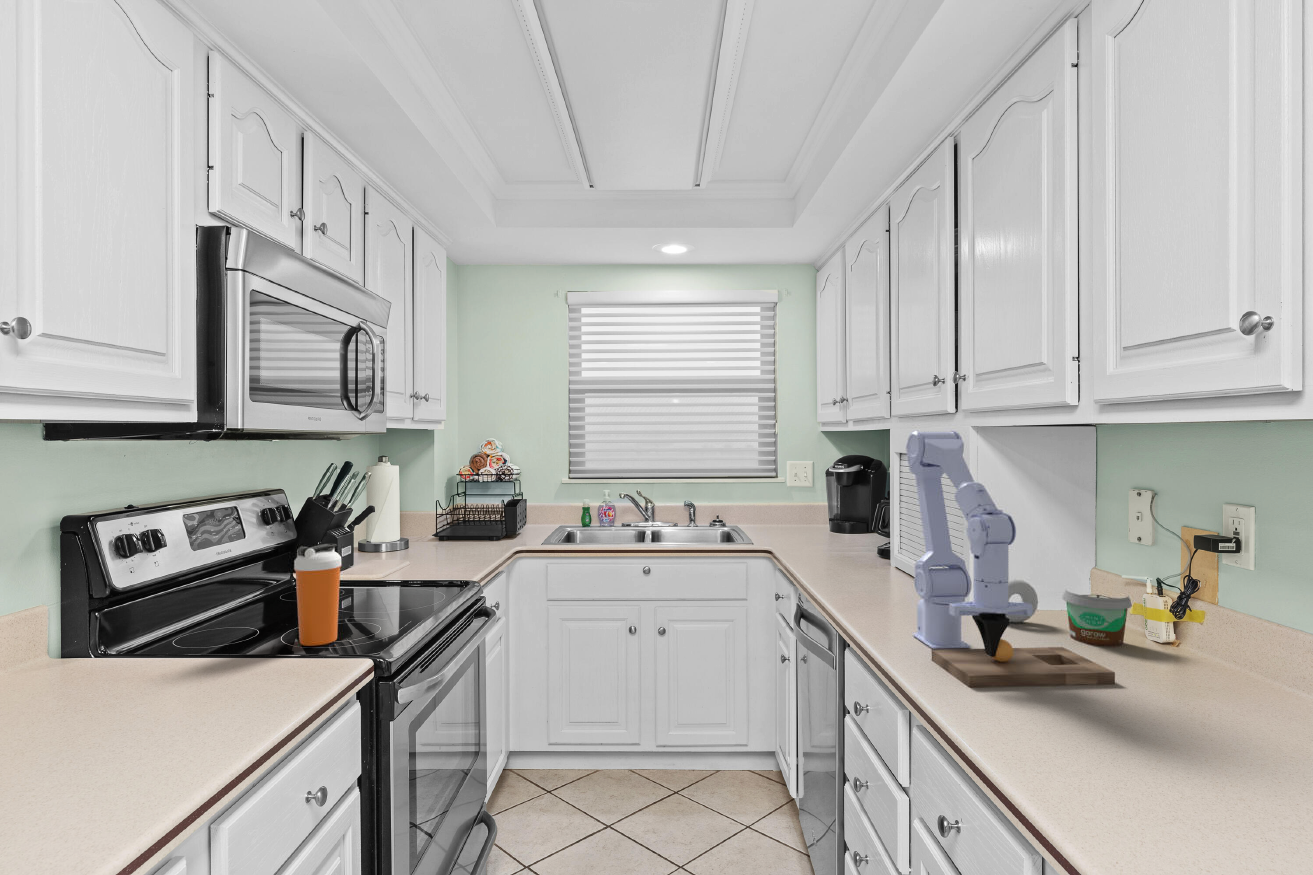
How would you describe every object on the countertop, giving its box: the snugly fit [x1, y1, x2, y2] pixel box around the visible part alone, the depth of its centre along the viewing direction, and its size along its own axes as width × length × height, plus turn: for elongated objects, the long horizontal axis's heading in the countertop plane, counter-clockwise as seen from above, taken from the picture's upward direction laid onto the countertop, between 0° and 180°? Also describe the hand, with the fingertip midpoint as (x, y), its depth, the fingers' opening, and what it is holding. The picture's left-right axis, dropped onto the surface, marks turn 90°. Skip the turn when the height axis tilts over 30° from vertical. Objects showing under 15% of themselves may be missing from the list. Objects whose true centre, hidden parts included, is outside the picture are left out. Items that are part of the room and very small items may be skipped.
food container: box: [1061, 589, 1132, 648], centre depth 141 cm, size 12×6×10 cm, turn 62°
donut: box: [1006, 578, 1039, 624], centre depth 156 cm, size 10×4×10 cm, turn 89°
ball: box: [992, 638, 1014, 662], centre depth 124 cm, size 4×4×4 cm
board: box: [931, 646, 1116, 688], centre depth 125 cm, size 14×26×2 cm, turn 93°
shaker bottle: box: [293, 543, 342, 647], centre depth 144 cm, size 9×9×20 cm
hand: (990, 654), depth 124 cm, fingers closed, pressing on ball
